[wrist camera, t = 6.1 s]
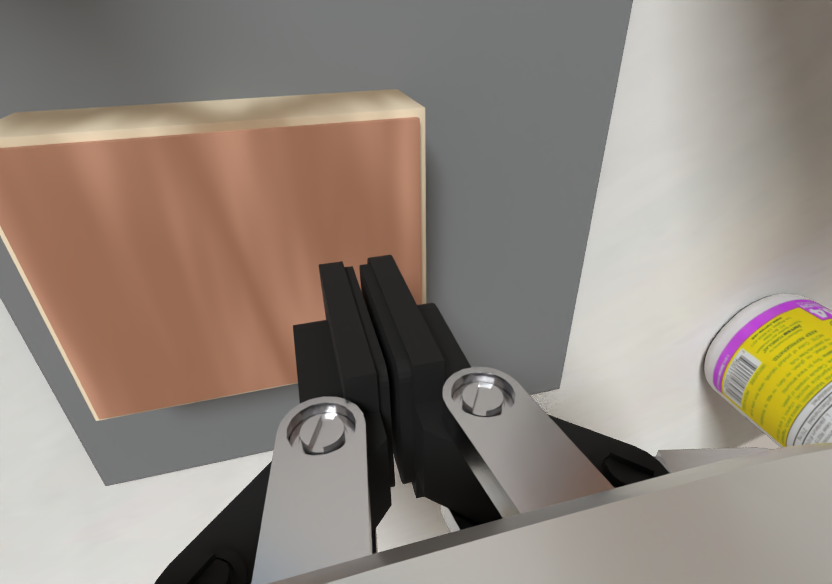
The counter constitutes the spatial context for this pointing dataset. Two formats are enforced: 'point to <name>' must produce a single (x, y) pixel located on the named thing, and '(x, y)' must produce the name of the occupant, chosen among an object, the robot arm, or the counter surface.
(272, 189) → the birch tile
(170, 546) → the counter surface
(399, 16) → the rubber mat
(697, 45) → the counter surface
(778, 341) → the supplement bottle
